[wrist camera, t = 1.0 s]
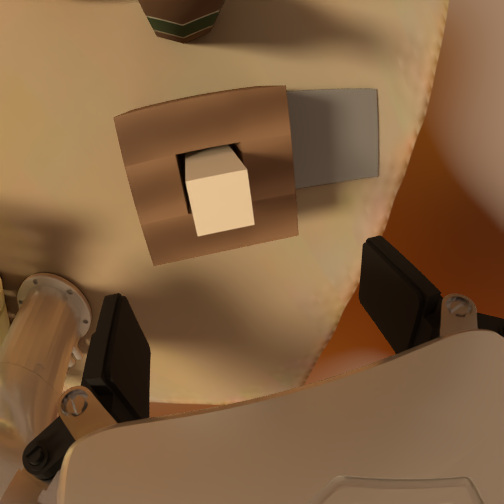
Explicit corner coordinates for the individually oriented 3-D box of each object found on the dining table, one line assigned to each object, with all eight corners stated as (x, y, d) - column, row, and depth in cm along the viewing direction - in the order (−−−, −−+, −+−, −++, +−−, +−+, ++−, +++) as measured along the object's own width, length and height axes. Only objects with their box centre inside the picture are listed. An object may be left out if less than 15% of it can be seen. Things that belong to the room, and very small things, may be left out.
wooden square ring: (271, 199, 38) (298, 235, 30) (159, 222, 37) (154, 265, 28) (258, 86, 31) (285, 85, 23) (133, 109, 30) (113, 117, 21)
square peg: (230, 177, 32) (254, 224, 22) (192, 184, 32) (197, 236, 21) (224, 140, 30) (247, 169, 20) (185, 147, 29) (185, 181, 19)
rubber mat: (375, 175, 40) (377, 176, 39) (294, 187, 38) (295, 189, 38) (374, 88, 33) (376, 88, 33) (285, 91, 32) (286, 91, 32)
